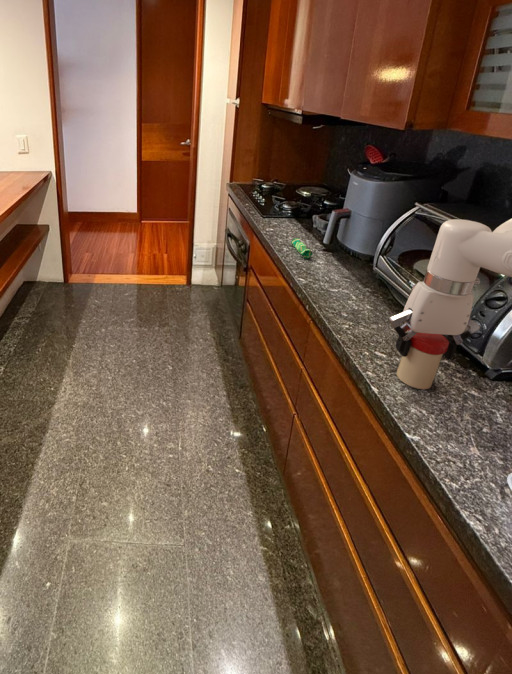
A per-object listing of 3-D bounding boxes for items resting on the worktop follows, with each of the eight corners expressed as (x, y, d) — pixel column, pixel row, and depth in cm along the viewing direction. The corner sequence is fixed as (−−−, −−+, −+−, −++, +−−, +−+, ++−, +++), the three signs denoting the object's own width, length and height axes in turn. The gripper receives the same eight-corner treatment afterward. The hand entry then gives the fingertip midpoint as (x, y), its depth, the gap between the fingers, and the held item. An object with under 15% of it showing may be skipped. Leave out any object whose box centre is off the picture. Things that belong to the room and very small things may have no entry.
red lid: (403, 331, 86) (405, 323, 85) (441, 339, 83) (444, 331, 83) (409, 349, 80) (411, 341, 80) (450, 358, 77) (453, 351, 77)
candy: (314, 256, 143) (309, 247, 142) (305, 260, 144) (300, 252, 142) (301, 243, 154) (297, 235, 153) (293, 248, 155) (289, 240, 153)
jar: (427, 373, 87) (442, 334, 83) (434, 393, 81) (450, 352, 77) (394, 365, 89) (406, 327, 85) (398, 383, 84) (412, 343, 80)
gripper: (482, 275, 78) (455, 346, 85) (390, 271, 81) (371, 340, 87) (511, 294, 72) (479, 369, 78) (410, 288, 74) (387, 362, 80)
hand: (422, 353), depth 83 cm, fingers open, 8 cm apart
